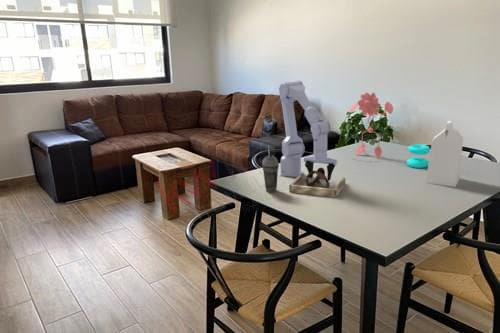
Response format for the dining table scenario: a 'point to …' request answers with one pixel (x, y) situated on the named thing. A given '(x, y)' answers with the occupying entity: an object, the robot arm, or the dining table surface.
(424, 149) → the donuts
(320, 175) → the brown piece
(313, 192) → the wooden tray
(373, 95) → the pink flower ornament
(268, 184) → the beverage cup
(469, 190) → the dining table surface
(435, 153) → the milk
